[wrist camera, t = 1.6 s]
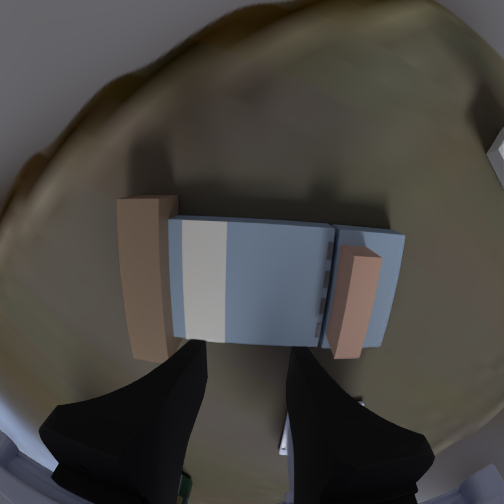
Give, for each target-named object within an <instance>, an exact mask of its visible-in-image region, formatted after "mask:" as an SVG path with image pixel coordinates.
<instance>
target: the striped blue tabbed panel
mask: <svg viewBox="0 0 504 504" xmlns="http://www.w3.org/2000/svg"><path fill="white" fill-rule="evenodd" d="M178 196H179V195H139V196H132V197H126V198H120V199H117V231H118V249H119V262H120V273H121V282H122V291H123V299H124V306H125V313H126V320H127V326H128V332H129V337H130V343H131V348H132V353H133V358H134V359H139V360H144V361H149V362H155V363H160V364H162V363H163V362H165V361H166V360H167V359H168V358H170V357H171V356H172V355H173V354H174V353H175V352H176V350H177V348H178V346H179V344H180V342H181V340H182V338H186V339H199V340H206V341H210V342H220V343H225V342H228V343H240V344H255V345H273V346H307V347H317V346H318V341H319V336H320V331H321V325H322V320H323V314H324V308H325V302H326V296H327V289H328V282H329V275H330V268H331V260H332V252H333V244H334V235H335V228H334V227H332V226H331V225H329V224H328V223H315V222H301V221H287V220H271V219H254V218H236V217H214V216H188V215H178Z"/></svg>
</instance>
